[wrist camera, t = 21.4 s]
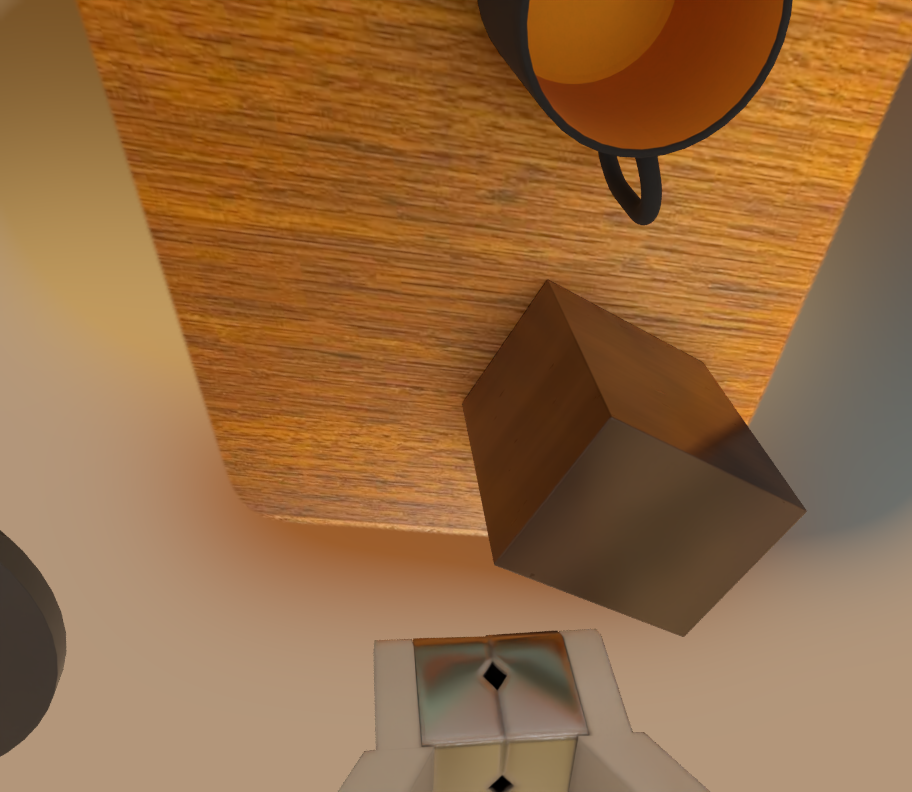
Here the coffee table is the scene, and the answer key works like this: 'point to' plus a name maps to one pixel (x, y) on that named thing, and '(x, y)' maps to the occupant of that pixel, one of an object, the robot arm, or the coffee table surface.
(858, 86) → the coffee table surface
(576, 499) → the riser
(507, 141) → the coffee table surface
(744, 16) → the mug
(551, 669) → the robot arm
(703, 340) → the coffee table surface
